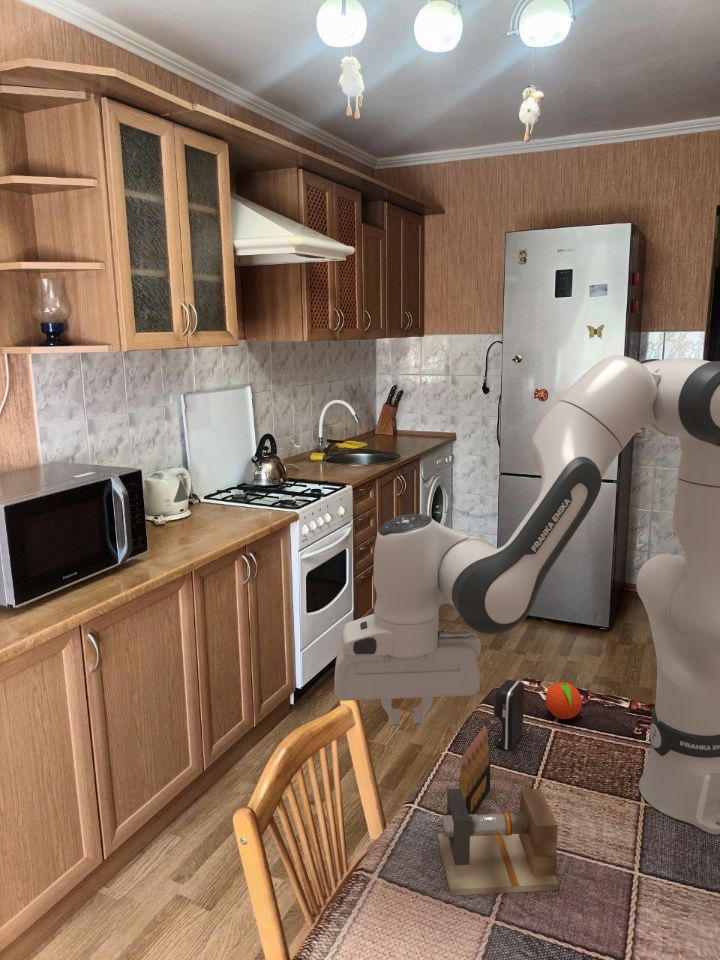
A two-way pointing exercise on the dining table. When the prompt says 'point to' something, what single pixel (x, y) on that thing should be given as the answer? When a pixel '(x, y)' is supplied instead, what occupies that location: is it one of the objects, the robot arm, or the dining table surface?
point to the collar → (459, 827)
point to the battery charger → (510, 712)
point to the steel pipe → (492, 824)
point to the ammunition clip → (475, 772)
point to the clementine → (563, 700)
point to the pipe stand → (508, 856)
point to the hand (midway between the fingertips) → (406, 723)
